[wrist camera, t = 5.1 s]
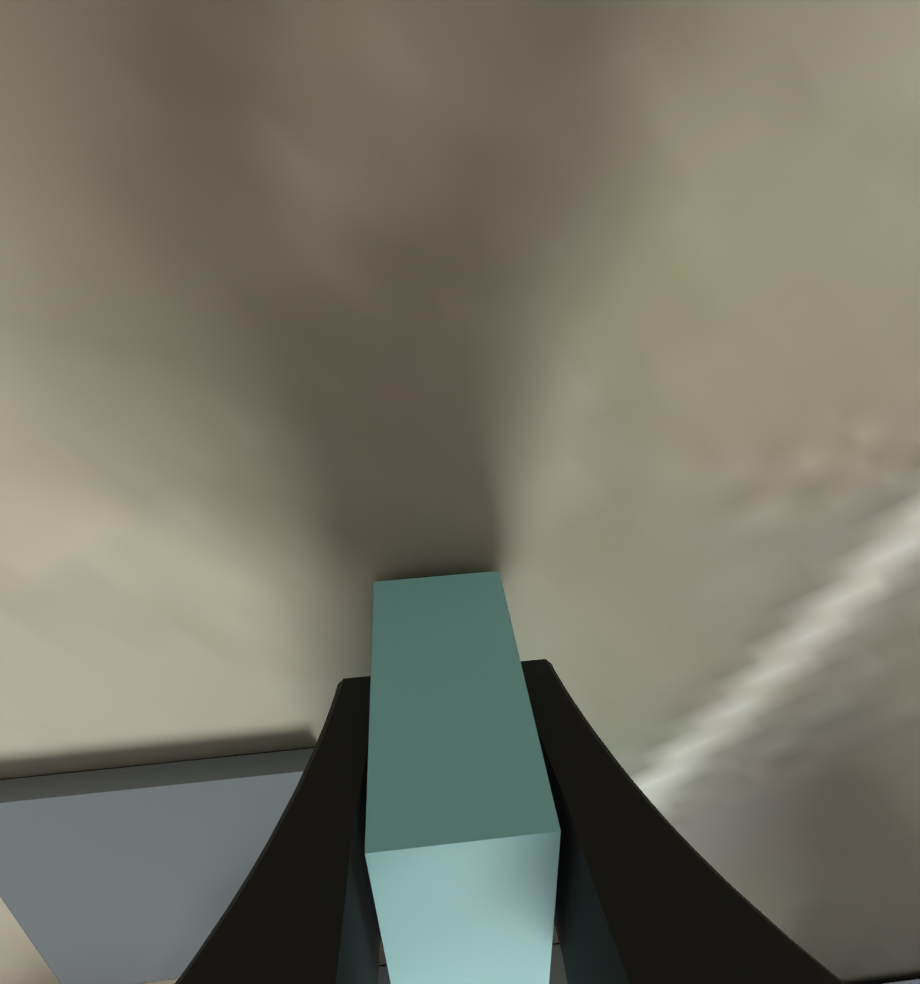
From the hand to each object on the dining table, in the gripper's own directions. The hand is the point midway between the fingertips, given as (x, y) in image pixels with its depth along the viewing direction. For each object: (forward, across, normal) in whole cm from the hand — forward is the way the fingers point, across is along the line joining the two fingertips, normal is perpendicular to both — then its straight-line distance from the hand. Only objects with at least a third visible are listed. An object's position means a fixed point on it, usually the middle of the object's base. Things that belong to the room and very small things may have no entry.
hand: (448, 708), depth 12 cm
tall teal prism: (+2, 0, +4) cm, 4 cm away
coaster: (+2, +7, +7) cm, 10 cm away
